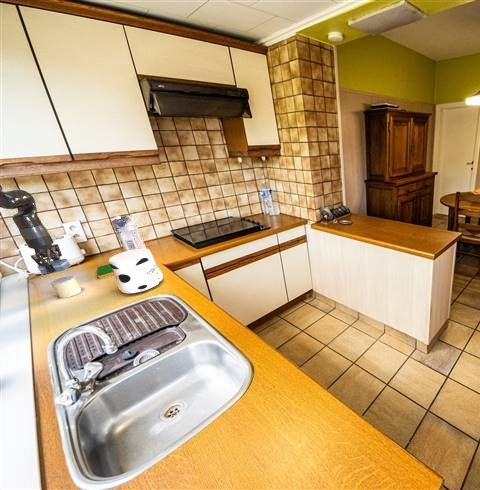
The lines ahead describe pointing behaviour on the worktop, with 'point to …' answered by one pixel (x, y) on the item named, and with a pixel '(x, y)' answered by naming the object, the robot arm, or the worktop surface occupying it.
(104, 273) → the dish sponge
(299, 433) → the worktop surface
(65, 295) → the yogurt pot
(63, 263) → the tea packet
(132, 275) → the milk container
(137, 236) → the juice carton
